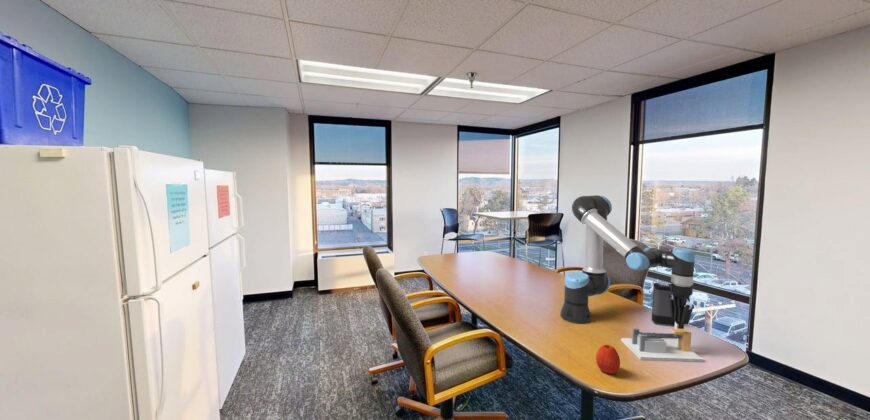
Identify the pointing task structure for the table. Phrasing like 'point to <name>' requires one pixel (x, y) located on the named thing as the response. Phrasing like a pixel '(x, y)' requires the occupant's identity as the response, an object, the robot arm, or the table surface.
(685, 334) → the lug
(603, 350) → the apple
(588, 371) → the table surface
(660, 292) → the electronic device
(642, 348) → the board
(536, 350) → the table surface
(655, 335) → the strap
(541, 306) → the table surface
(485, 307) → the table surface
